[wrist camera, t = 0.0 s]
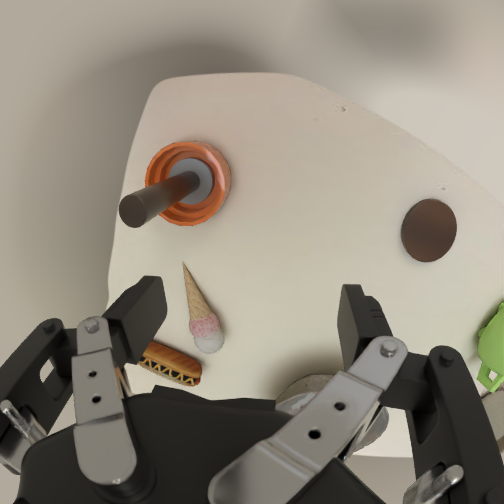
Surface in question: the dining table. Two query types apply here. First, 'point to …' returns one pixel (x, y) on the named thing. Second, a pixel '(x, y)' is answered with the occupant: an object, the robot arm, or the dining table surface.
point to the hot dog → (171, 364)
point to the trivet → (429, 230)
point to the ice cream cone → (202, 319)
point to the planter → (496, 415)
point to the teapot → (492, 351)
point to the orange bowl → (209, 206)
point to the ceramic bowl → (308, 389)
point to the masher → (169, 192)
